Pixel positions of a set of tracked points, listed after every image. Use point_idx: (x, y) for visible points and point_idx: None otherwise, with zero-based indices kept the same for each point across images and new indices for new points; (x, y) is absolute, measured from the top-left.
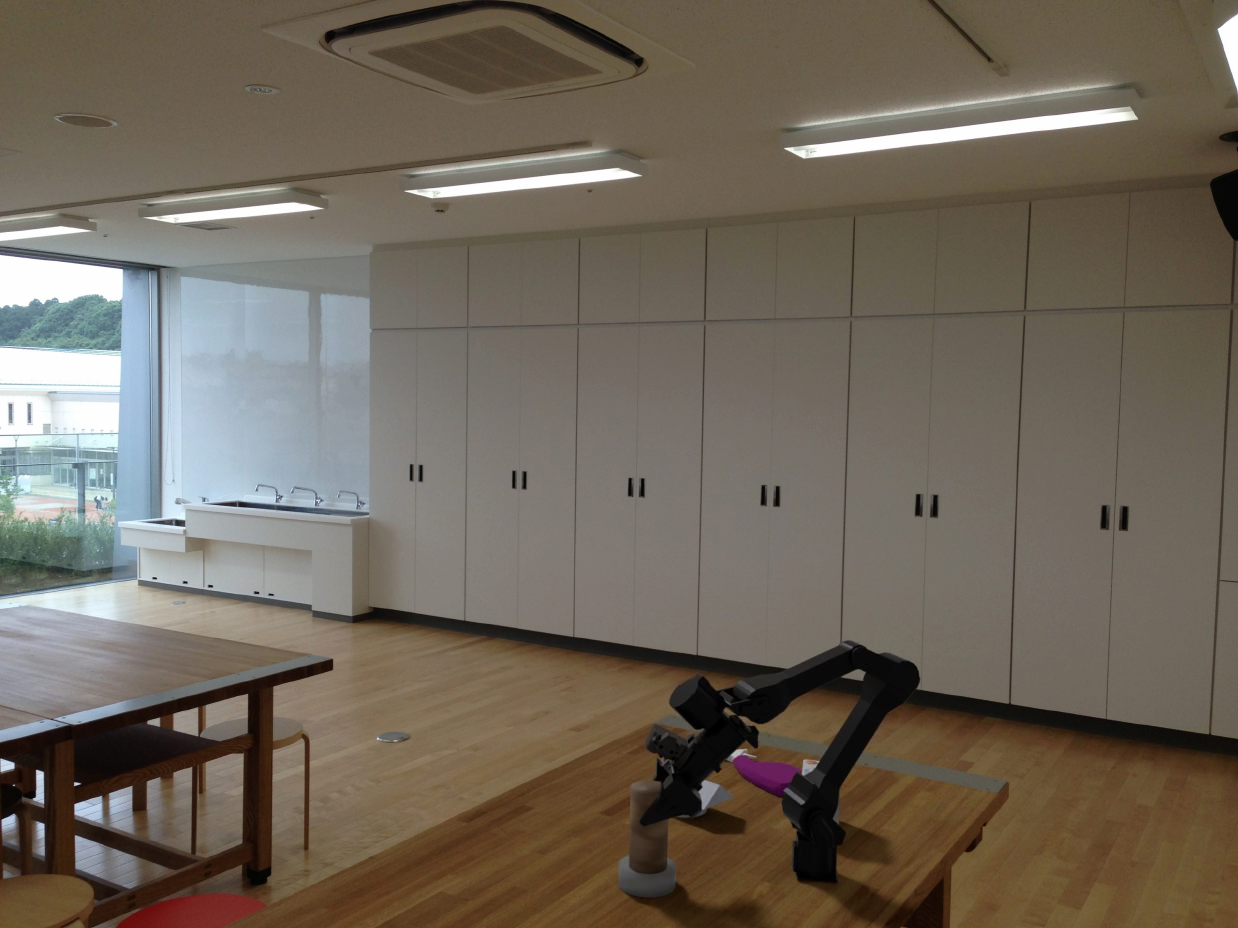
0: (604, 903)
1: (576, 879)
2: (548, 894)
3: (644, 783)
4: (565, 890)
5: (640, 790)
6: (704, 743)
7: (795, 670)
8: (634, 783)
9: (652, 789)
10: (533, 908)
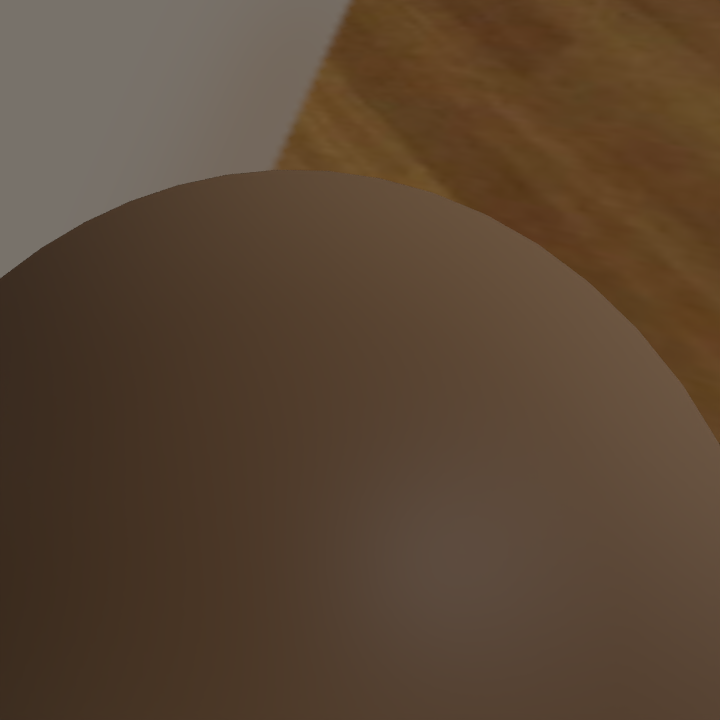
0: None
1: (562, 256)
2: (464, 134)
3: (527, 607)
4: (476, 194)
5: (134, 308)
6: None
7: None
8: (601, 336)
9: (65, 604)
10: (381, 75)
